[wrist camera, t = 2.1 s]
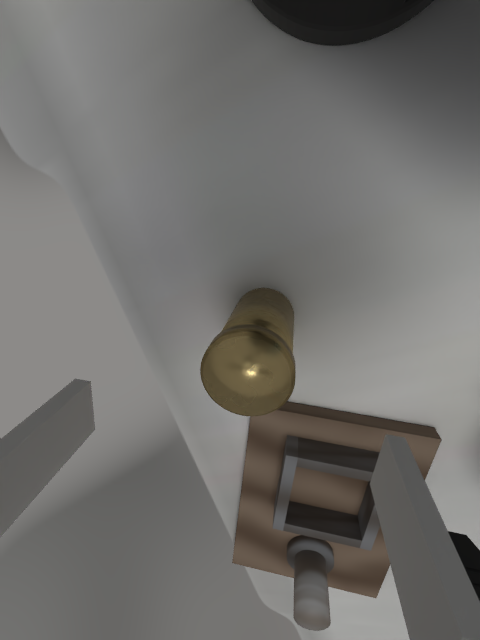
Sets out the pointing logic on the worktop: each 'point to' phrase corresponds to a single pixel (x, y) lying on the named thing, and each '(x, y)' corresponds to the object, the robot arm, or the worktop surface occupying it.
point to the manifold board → (318, 501)
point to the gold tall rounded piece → (253, 356)
